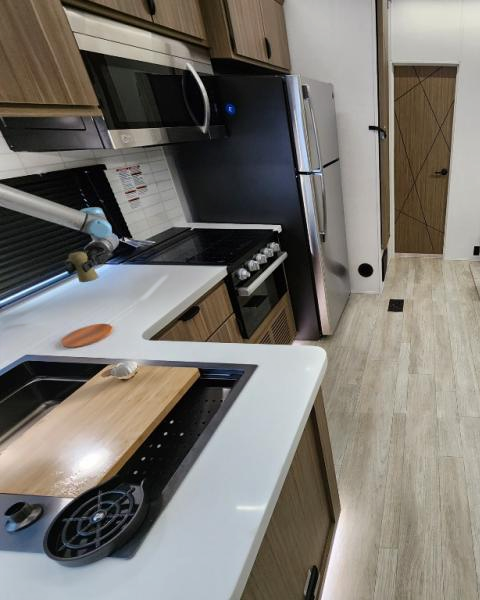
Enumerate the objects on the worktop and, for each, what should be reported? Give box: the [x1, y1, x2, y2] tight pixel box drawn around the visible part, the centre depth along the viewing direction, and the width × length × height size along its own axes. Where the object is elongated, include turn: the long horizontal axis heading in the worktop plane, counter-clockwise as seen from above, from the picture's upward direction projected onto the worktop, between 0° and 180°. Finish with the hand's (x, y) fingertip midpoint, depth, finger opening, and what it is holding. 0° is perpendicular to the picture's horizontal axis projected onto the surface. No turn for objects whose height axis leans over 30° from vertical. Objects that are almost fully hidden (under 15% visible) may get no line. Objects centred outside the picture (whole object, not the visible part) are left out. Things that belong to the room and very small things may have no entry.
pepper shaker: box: [68, 251, 100, 283], centre depth 128 cm, size 6×6×11 cm
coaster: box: [60, 323, 114, 349], centre depth 109 cm, size 13×13×1 cm
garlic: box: [110, 360, 139, 377], centre depth 91 cm, size 6×5×5 cm
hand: (76, 270), depth 123 cm, fingers closed on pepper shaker, 4 cm apart
